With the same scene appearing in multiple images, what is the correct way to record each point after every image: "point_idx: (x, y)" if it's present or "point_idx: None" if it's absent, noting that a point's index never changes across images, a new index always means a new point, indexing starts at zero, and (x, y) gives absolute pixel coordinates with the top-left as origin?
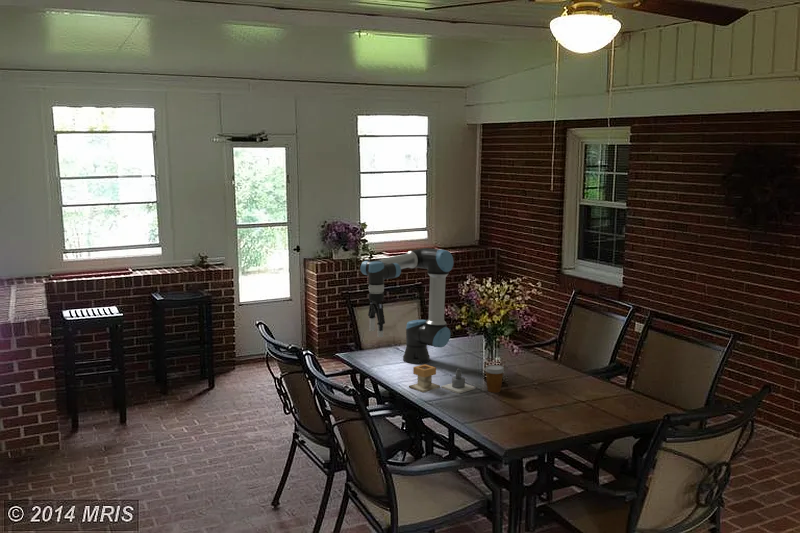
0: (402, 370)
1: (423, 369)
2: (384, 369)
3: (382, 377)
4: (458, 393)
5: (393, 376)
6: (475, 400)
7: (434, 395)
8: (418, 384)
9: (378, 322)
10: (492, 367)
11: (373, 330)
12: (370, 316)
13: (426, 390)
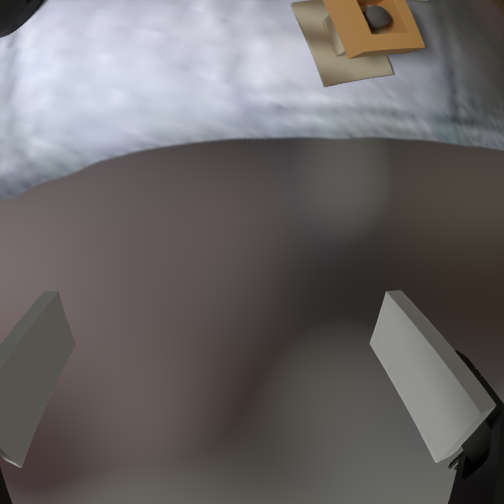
0: (89, 42)
1: (411, 39)
2: (54, 110)
3: (147, 139)
4: (425, 1)
5: (150, 90)
6: (471, 13)
7: (423, 62)
8: (342, 54)
9: (467, 472)
10: None
11: (62, 313)
12: (6, 490)
13: (384, 56)
